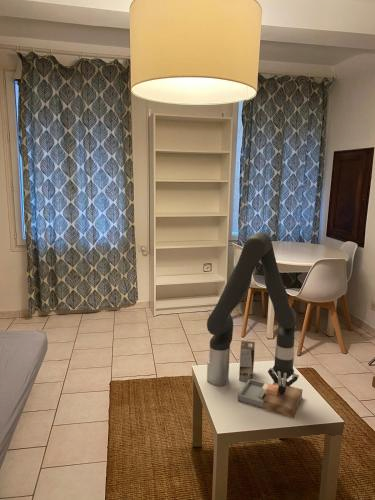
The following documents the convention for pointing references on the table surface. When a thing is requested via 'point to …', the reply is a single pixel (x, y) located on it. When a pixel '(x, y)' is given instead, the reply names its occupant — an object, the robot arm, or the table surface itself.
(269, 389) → the tile
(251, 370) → the coffee box
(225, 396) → the table surface
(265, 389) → the tile
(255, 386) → the bin
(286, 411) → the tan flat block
